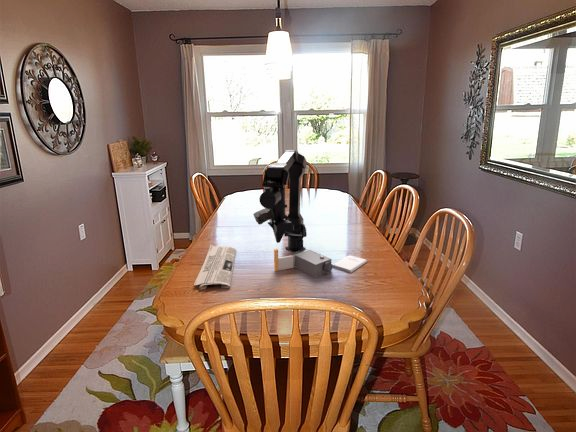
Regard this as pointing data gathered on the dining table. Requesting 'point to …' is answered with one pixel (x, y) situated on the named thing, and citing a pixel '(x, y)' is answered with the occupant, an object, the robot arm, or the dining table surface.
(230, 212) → the dining table surface
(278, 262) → the side door
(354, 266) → the external hard drive
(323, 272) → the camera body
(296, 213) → the robot arm
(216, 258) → the newspaper
